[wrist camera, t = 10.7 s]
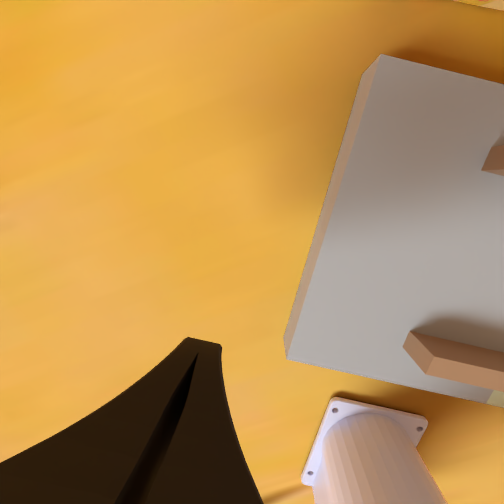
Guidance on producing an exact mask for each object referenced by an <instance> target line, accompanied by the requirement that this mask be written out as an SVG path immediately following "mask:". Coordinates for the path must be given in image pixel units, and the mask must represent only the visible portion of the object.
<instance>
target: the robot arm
mask: <svg viewBox="0 0 504 504" xmlns="http://www.w3.org/2000/svg"><path fill="white" fill-rule="evenodd" d="M221 353H222V347H221V345H220V344H217V343H212V342H208V341H203V340H199V339H195V338H190V337H187V338H185V339H184V340H183V341H182V342H181V343H180V344H179V345H178V346H177V347H176V348H175V349H174V350H173V351H172V352H171V353H170V354H169V355H168V356H167V357H166V358H165V359H164V360H162V361H161V362H160V363H159V364H158V365H157V366H155V367H154V368H153V369H152V370H151V371H150V372H148V373H147V374H146V375H145V376H143V377H142V378H141V379H140V380H138V381H137V382H136V383H134V384H133V385H132V386H130V387H129V388H128V389H127V390H125V391H124V392H122V393H121V394H120V395H118V396H117V397H115V398H114V399H112V400H111V401H109V402H108V403H106V404H105V405H103V406H102V407H100V408H99V409H97V410H96V411H94V412H93V413H91V414H89V415H88V416H86V417H84V418H83V419H81V420H79V421H78V422H76V423H74V424H73V425H71V426H69V427H68V428H66V429H64V430H62V431H61V432H59V433H57V434H55V435H53V436H52V437H50V438H48V439H46V440H44V441H42V442H40V443H38V444H36V445H34V446H32V447H30V448H28V449H26V450H25V451H23V452H21V453H19V454H17V455H15V456H13V457H11V458H9V459H7V460H5V461H3V462H1V463H0V504H264V503H263V501H262V499H261V497H260V494H259V492H258V489H257V487H256V485H255V482H254V480H253V478H252V475H251V473H250V471H249V468H248V466H247V463H246V461H245V458H244V455H243V452H242V450H241V447H240V444H239V441H238V438H237V435H236V432H235V428H234V425H233V422H232V418H231V414H230V410H229V406H228V402H227V397H226V392H225V386H224V380H223V373H222V362H221ZM333 408H336V409H333ZM427 426H428V421H427V419H426V418H425V417H424V416H421V415H416V414H412V413H407V412H403V411H398V410H394V409H389V408H385V407H380V406H376V405H371V404H367V403H362V402H358V401H353V400H349V399H344V398H340V397H334V398H332V399H331V400H330V402H329V405H328V407H327V410H326V412H325V415H324V418H323V420H322V423H321V425H320V428H319V431H318V433H317V436H316V439H315V441H314V444H313V446H312V449H311V452H310V454H309V457H308V459H307V462H306V465H305V467H304V470H303V472H302V475H301V481H302V483H303V484H305V485H308V486H312V487H313V494H314V500H315V504H448V503H447V502H446V500H445V498H444V496H443V495H442V493H441V491H440V489H439V488H438V486H437V484H436V482H435V481H434V479H433V477H432V475H431V474H430V472H429V470H428V468H427V467H426V465H425V463H424V461H423V460H422V458H421V456H420V454H419V453H418V451H417V449H416V447H417V445H418V443H419V441H420V439H421V437H422V435H423V433H424V432H425V430H426V428H427Z"/></svg>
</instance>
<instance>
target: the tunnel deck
mask: <svg viewBox="0 0 504 504" xmlns="http://www.w3.org/2000/svg"><path fill="white" fill-rule="evenodd" d="M284 345H285V353H286V359H287V360H292V361H296V362H301V363H305V364H310V365H314V366H319V367H323V368H328V369H332V370H337V371H341V372H346V373H350V374H354V375H359V376H363V377H368V378H372V379H377V380H381V381H386V382H390V383H395V384H399V385H404V386H408V387H413V388H417V389H422V390H426V391H431V392H435V393H439V394H444V395H448V396H453V397H457V398H462V399H466V400H471V401H475V402H480V403H484V404H489V405H493V406H498V407H502V408H504V84H501V83H497V82H493V81H489V80H484V79H480V78H476V77H472V76H468V75H464V74H460V73H456V72H452V71H448V70H444V69H440V68H436V67H432V66H428V65H424V64H420V63H416V62H412V61H408V60H404V59H400V58H396V57H392V56H388V55H384V54H380V55H379V57H378V58H377V59H376V60H375V61H374V62H373V63H372V64H371V65H370V66H369V67H368V68H367V69H366V71H365V72H364V73H363V74H362V77H361V80H360V83H359V87H358V90H357V93H356V97H355V100H354V103H353V107H352V110H351V114H350V117H349V120H348V124H347V127H346V130H345V134H344V137H343V140H342V144H341V147H340V150H339V154H338V157H337V160H336V164H335V167H334V170H333V174H332V177H331V181H330V184H329V187H328V191H327V194H326V197H325V201H324V204H323V207H322V211H321V214H320V217H319V221H318V224H317V227H316V231H315V234H314V237H313V241H312V244H311V247H310V251H309V254H308V258H307V261H306V264H305V268H304V271H303V274H302V278H301V281H300V284H299V288H298V291H297V294H296V298H295V301H294V304H293V308H292V311H291V314H290V318H289V321H288V324H287V328H286V331H285V335H284Z"/></svg>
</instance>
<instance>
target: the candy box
mask: <svg viewBox="0 0 504 504" xmlns="http://www.w3.org/2000/svg"><path fill="white" fill-rule="evenodd" d="M453 1H458V2H462V3H466V4H472V5H477V6H482V7H487V8H492V9H497V10H504V0H453Z"/></svg>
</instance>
